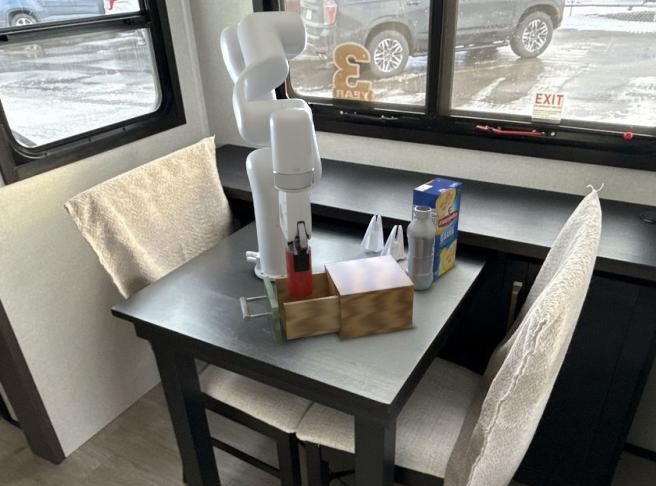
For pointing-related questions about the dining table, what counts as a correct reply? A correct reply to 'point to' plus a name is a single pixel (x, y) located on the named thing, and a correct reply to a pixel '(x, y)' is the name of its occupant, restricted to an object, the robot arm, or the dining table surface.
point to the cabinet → (372, 295)
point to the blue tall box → (441, 219)
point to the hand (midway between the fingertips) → (298, 263)
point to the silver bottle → (420, 248)
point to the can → (298, 276)
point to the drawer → (299, 308)
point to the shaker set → (375, 240)
